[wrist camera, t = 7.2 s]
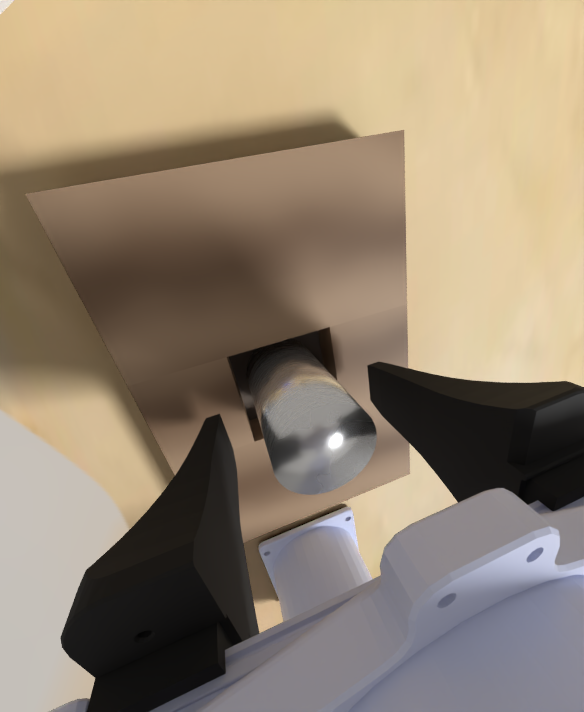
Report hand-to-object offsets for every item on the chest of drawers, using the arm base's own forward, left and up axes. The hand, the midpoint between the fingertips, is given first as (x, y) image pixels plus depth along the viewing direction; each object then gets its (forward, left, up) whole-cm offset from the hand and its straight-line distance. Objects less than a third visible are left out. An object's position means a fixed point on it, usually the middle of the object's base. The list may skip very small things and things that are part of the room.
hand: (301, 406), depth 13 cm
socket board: (0, 0, -4) cm, 4 cm away
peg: (0, 0, -4) cm, 4 cm away
